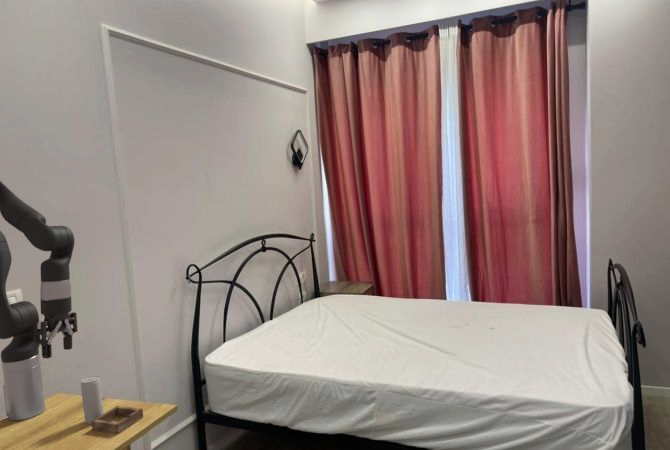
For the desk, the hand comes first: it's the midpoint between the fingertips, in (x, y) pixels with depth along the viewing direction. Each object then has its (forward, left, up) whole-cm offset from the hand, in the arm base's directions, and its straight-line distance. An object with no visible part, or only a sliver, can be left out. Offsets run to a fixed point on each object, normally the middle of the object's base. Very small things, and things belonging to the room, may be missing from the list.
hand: (57, 353), depth 131 cm
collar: (+18, +1, -19) cm, 27 cm away
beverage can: (+10, +1, -19) cm, 22 cm away
